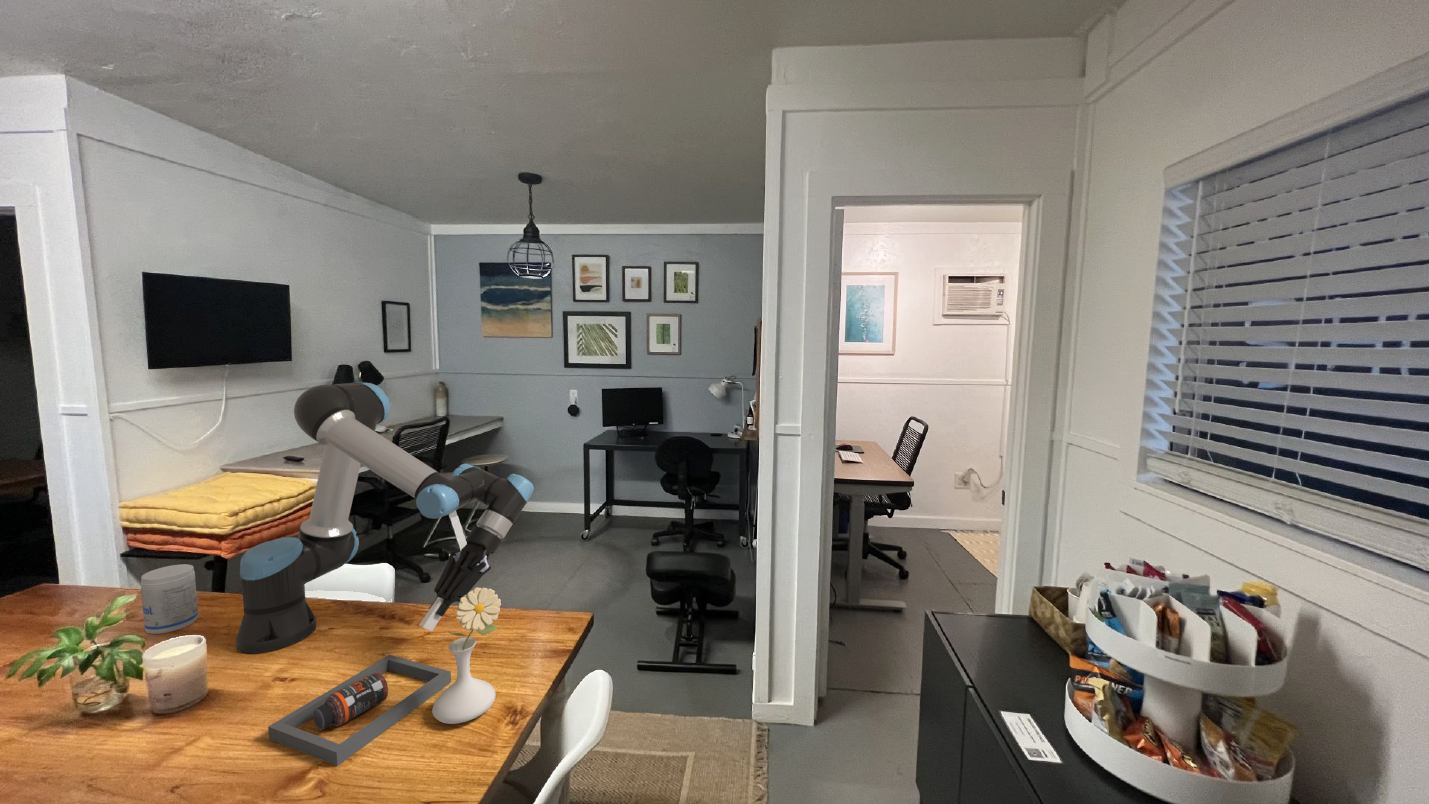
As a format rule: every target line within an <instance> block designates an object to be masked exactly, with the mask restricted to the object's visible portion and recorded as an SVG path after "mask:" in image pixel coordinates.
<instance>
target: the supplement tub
mask: <svg viewBox="0 0 1429 804" xmlns="http://www.w3.org/2000/svg"><path fill="white" fill-rule="evenodd" d="M194 569H195V568H194V565H192V564H185V563H184V564H174V565H173V564H172V565H167V566H163V567H159V568H156V569H153V570H150V571H147V572H145V573H144V574H142V575H141V577H140V579H141V580H140V593H141V601H142V602H141V604H142V613H143V614H142V615H143V624H144V631H145V632H146V633H147V634H149V635H163V634H168V633H172V632H176V631H179V630H182V629H184V628H186V627H188V626H190V625H193V623H195V622H196V621H197V620H198V619H199V609H198V597H197V596H198V595H197V584H196V583H197V582H196V581H197V580H196V572H195V570H194Z"/></svg>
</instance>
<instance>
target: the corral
mask: <svg viewBox="0 0 1429 804" xmlns="http://www.w3.org/2000/svg"><path fill="white" fill-rule="evenodd" d="M389 671H391V672H393V673H397V674H400V675H404V676H407V677H410V678H414V679H417V680H421V681H424V682H425V681H426V683H424V684H423V685H422V686H421V687H419V688H418V689H416V690H415V691H413V692H412V693H410V694H409V695H408V696H406V697H405V698H403V699H401V700H400V701H399V702H398V703H396V704H395V705H393V706H392V707H390V708H389V709H388V710H386V711H384V712H383V713H382V714H380V715H379V716H377V717H376V718H375V719H373V720H372V721H371V722H369V723H368V724H365V726H363V727H362V728H360V729H359V730H358V731H356V732H354V733H353V734H351V735H350V736H349V737H348V738H346V739H345V740H343V741H342V742H340V743H337V742H335V741H332V740H330V739H326V738H324V737H321V736H319V735H316V734H313V733H311V732H309V731H305V730H303V729H300V728H298V727H300V726H302V725H303V724H305V723H307V722H308V721H310V720H311V719H313V712H314V710H315V709H316V708H318V707H320V706H321V705H324V703H325V702H326V699H327V698H328V697H329V696H330V695H332V694H334V693H336V692H338V691H340V690H342V689H344V688H346V687H348V686H350V685H351V684H353V683H355V682H357V681H359V680H361V679H363V678H365V677H367V676H369V675H371V674H373V673H380V674H381V675H384V674H386V673H387V672H389ZM451 672H452V671H450V670H447V669H443V668H440V667H435V666H432V665H428V664H425V663H421V662H419V661H414V660H411V659H407V658H403V657H400V656H396V655H392V654H388V655H386V656H385V657H383V658H382V659H379V660H378V661H377V662H375V663H373V664H372V665H369V666H368V667H366V668H365V669H362V670H361V671H360V672H358V673H356V674H355V675H353V676H351V677H350V678H348V679H346V680H344V681H343V682H341V683H339V684H338V685H336V686H334V687H332V688H331V689H330V690H327V691H326V692H324V693H322V694H321V695H319V696H317V697H316V698H314V699H312V700H311V701H309V702H307V703H305V704H304V705H302V706H300V707H298V708H297V709H295V710H294V711H292V712H290V713H288V714H287V715H285V716H283V717H282V718H279V719H278V720H277V721H275V722H274V723H272V724H270V725H268V739H269V740H270V741H272V742H275V743H277V744H280V745H282V746H286V747H287V748H290V749H293V750H295V751H298V752H301V753H304V754H306V755H309V756H311V757H313V758H317V759H318V760H322V761H324V762H326V763H329V764H332V765H334V766H336V767H338V766H340V765H341V764H343V763H344V762H345V761H346V760H348V759H349V758H350V757H352V756H353V755H355V754H356V753H357V752H359V751H360V750H362V749H363V748H364V747H366V746H367V745H368V744H370V743H371V742H372V741H373V740H375V739H377V738H378V737H379V736H381V735H382V734H383V733H385V732H386V731H388V729H390V728H391V727H392V726H394V725H395V724H397V723H398V722H399V721H400V720H402V719H403V718H405V717H406V716H407V715H409V714H410V713H412V712H413V711H414V710H416V709H417V708H418V707H420V706H421V705H422V704H424V703H425V702H427V701H428V700H429V699H430V698H432V697H433V696H435V695H436V694H437V693H439V692H441V691H442V690H443V689H444V688H446V687H447V686H448V685H449V684H451V683H452V675H451V674H452V673H451Z"/></svg>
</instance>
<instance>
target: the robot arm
mask: <svg viewBox="0 0 1429 804" xmlns="http://www.w3.org/2000/svg"><path fill="white" fill-rule="evenodd" d="M390 411H391V405H390V400H389V398H388V396H387V395H386V393H385V391H384V390H383V389H382V388H380V387H379V386H377V385H376V384H374V383H372V382H360V381H353V382H348V383H335V384H334V383H333V384H319V385H315V386H312V387H310V388H308V389H306V390H305V391H303V392H302V393H301V394H300V395H299V396H298V398H297V399H296V401H295V403H294V408H293V414H294V419H295V421H296V423H297V425H298V426H299V428H300V429H301V430H302V432H303V433H304V434H305V435H307V436H308V437H309V438H311V439H313V440H314V441H316V443H317V442H318V443H319V444H320V445H323V446H324V449H323V454H322V459H321V463H320V467H319V468H320V469H319V471H318V478H317V482H316V487H315V490H314V496H313V500H312V504H311V510H310V514H309V518H308V519H306V520H304V521H303V522H302V523H301V524H300V525H299V526H300V528H299V532H298V536H297V537H295V536H294V537H293V536H292V537H290V536H289V537H288V536H287V537H280V538H275V539H273V540H268V541H264V542H261V543H259V544H257V545H255V546H253V547H251V548H250V549H248V550H247V551H246V552H244V553H243V555H242V556H241V559H240V563H239V564H240V568H239V577H240V583H241V592H242V603H243V617H242V619H241V623H240V626H239V628H238V629H239V630H238V632H237V635H236V640H235V641H236V644H235V645H236V649H237V651H238V652H240V653H243V654H261V653H269V652H273V651H276V650H279V649H282V648H283V649H284V648H286V647H289V646H292V645H293V644H296V643H299V642H300V641H303V640H305V639H306V638H307V637H309V636H310V635H312V633H314V631H315V630H316V628H317V620H316V616H315V614H314V613H313V611H312V609H311V607H310V604H309V603H308V601H307V600H306V591H305V590H306V588H305V584H308V583H309V582H311V581H315V580H316V579H318V578H319V577H322V576H324V575H327V574H329V573H330V572H332V571H335V570H337V569H339V568H341V567H343V566H344V565H345V564H347V563H349V562H350V561H351V560H352V559H353V558H354V557H355V556H356V554H357V553H358V552H357V551H358V550H359V545H360V543H359V542H360V541H359V540H360V539H359V536H357V531H356V530H355V528H354V525H353V523H352V522H351V521H350V520H349V518H350V513H351V509H352V504H353V499H354V496H355V491H356V487H357V483H358V478H359V473H360V470H361V465H362V466H363V467H365V468H367V469H368V470H369V471H372V472H373V473H375V474H376V475H378V476H379V477H380V478H383V479H384V480H385V481H386V482H389V483H390V484H392V485H393V486H395V487H396V488H398V489H400V490H401V491H402V492H404V493H406V494H408V495H409V496H411V497H412V498H414V499H415V502H416V508H417V509H418V510H419V512H420V514H421V515H422V516H423V517H425V518H428V519H439V518H442V517H445V516H449V515H451V514H452V513H454V512H456V511H457V510H459V509H461V508H463V507H464V506H468V505H470V504H472V503H473V502H477V503H478V502H479V503H480V504H483V505H486V506H487V507H486V509H485V510H484V512H483V513H482V514H481V516H480V517H479V519H478V520H477V522H476V524H475V525H476V526H474V527H473V528H472V529H471V530H470V532H469V534H468V535H467V536H466V539H465V540H466V544H465V545H464V546H463V547H462V548H461V550H460V551H458V552H454V551H452V552H450V553H449V557H448V561H447V563H446V565H445V568H444V569H443V571H442V572H441V575H440V577H439V579H438V581H437V583H436V585H435V587H434V589H433V592H434V593H436V598H435V599H434V601H433V602H432V604H431V605H430V607H429V608H428V611H427V613H425V616H424V617H423V619H422V620H421V622H420V623H419V625H418V626H419V627H421V628H424V629H426V630H428V631H429V632H433V630H434V629H435V628H436V626H437V624H438V622H439V621H440V620H441V618H442V617H443V616H445V614H446V612H447V611H448V609H449V607H451V605H452V604H454V603H459V602H460V599H461V598H462V597H464V596H465V595H468V593H469V592H471V591H472V589H473V588H474V586H475V585H476V584H477V583H478V582H479V581H480V580H481V578H482V577H483V576H484V575H485V574H487V573H488V572H489V571H490V570H491V569H492V566H491V565H489V563H488V560H489V557H490V555H493V554H494V553H496V551H497V549H498V548H499V547H500V545H501V543H502V539H504V538H505V537H506V535H507V534H508V532H509V531H510V529H511V527H512V526H513V525H514V523H515V521H516V520H517V518H518V517H519V515H520V514H521V512H522V511H523V509H524V508H525V506H526V505H527V504H528V502H529V500H530V498H531V496H532V494H533V493H534V491H535V490H534V489H535V488H534V485H533V483H532V482H531V481H530V480H528V479H527V478H526V477H524V476H522V475H520V474H516V473H511V474H509V476H508V477H506V479H505V478H502V477H499V476H497V475H495V474H493V473H491V472H488V471H486V470H484V469H482V468H480V467H479V466H476V465H472V464H469V463H463V464H460V465H459V466H458V467H457V468H455V469H454V470H453V471H452V474H451V475H450V478H448V477H446V476H445V475H443V474H441V472H438V471H437V470H436V469H434V468H432V467H431V466H429V465H428V464H426V463H424V462H423V461H421V460H420V459H418V458H416V457H415V456H413V455H412V454H410V453H409V452H407V450H404V449H403V448H402V447H400V446H398V445H397V444H395V443H393V442H392V441H391V440H389V439H387V438H386V437H384V436H382V435H381V434H379V433H378V432H377V431H376V428H377V425H379V424H381V423H383V422H384V421H385V420H387V418H388V417H389V415H390Z"/></svg>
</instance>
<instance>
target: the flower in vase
mask: <svg viewBox="0 0 1429 804" xmlns="http://www.w3.org/2000/svg"><path fill="white" fill-rule="evenodd" d="M495 593H496V591H495V590H493V589H492V588H486V587H474V589H473V590H472V589H471V590H470V591H469V592H468V593H467V595H465V596H464V597H462V598H461V599H460V602H458V607H457V608H456V609H457V610H456V616H455V618H456V620H458V624H460V625H461V627H462V629H466V630H470V633H469V634H468V635H465V634H463V633H459V632H458V633H457V632H450V631H449V630H447V632H448V633H449V634H451V635H454V636H459V637H461V638H457V639H455V640H453V641H451V642H450V643H449V645H448V646H447V648H448V650H449V651H450V652H451V653H452V654H453V657H454V659H455V664H456V670H457V671H456V679H455V681H454V682H453V683H452V684H451V685H449V686H448V687H447V688H445V690H443V691H442V692H441V694H440V695H438V697H437V698H436V700H435V701H434V703H433V706H432V709H431V710H432V711H431V712H432V715H433V717H434V718H435V719H436V720H438V722H441V723H443V724H451V725H452V724H453V725H455V724H461V723H466V722H469V721H472V720H473V719H476V718H478V717H480V716H481V715H483V714H484V713H485V712H487V711H488V710H489V709H490V707H492V705H493V704H494V701H495V700H496V697H497V696H496V695H497V694H496V692H497V691H496V690H495V688H494V686H493V685H492V684H491V683H489V682H488V681H485V680H483V679H480V678H475V677H473V676H472V674H471V669H470V667H471V666H470V665H471V664H470V661H471V655H472V651H473V649H474V647H475V646H476V644H477V639H476V638H474V637H471V635H472V634H473V633H474V631H476V632H477V633H478V634H479V635H481V636H486V635H489V634H491V633H493V632H494V631H496V630H497V629H498V628H499V627H498V625H497V624H494V621H496V620H497V619H498V618H499V613H500V612H501V605H502V603H501V601H502V600H501V599H500V598H499V597H498V594H495Z"/></svg>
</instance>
